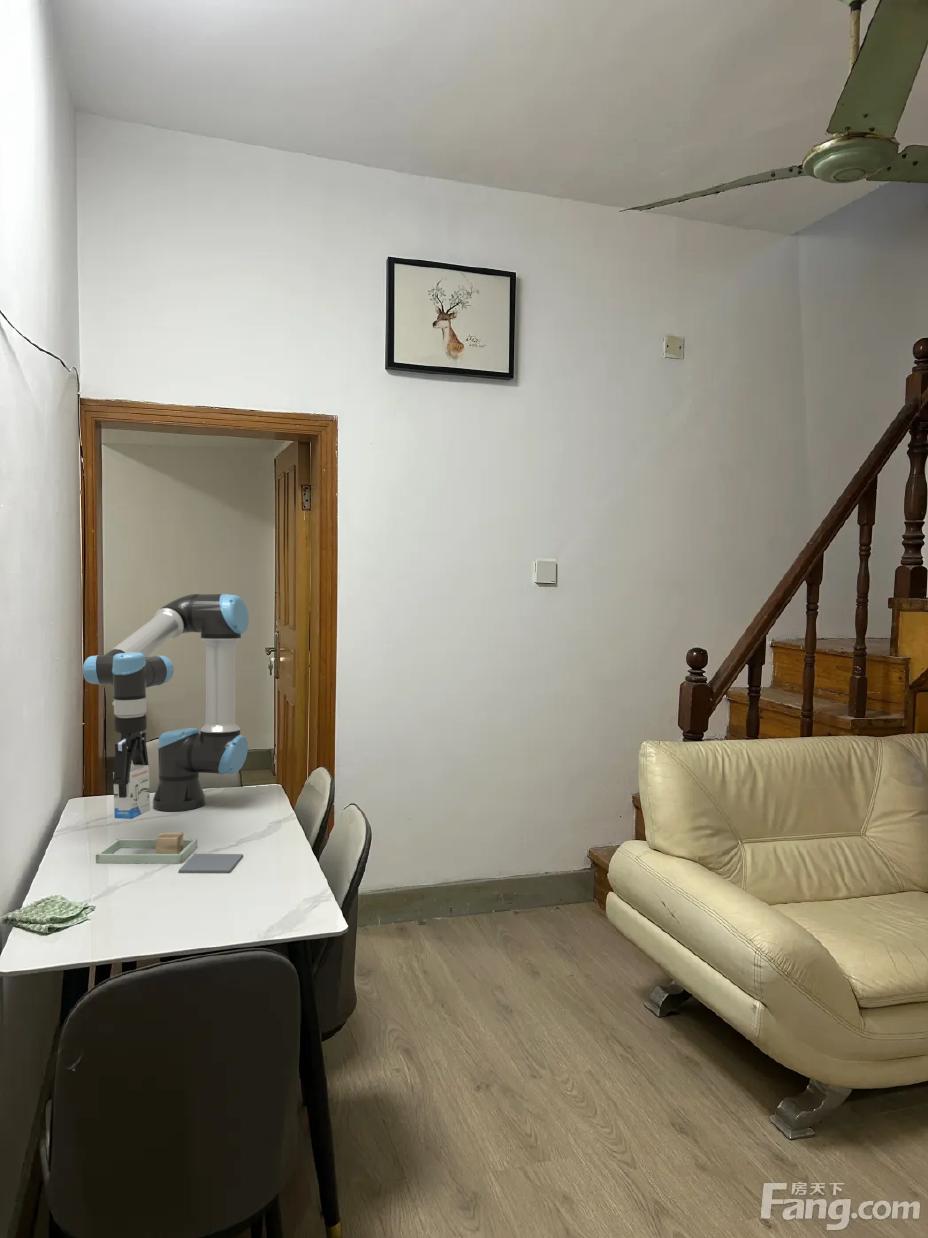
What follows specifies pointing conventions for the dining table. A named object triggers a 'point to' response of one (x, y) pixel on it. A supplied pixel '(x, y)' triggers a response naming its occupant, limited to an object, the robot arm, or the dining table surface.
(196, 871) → the rubber mat
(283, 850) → the dining table surface
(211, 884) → the dining table surface
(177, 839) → the kraft cube
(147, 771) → the ink box
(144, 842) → the parts tray
